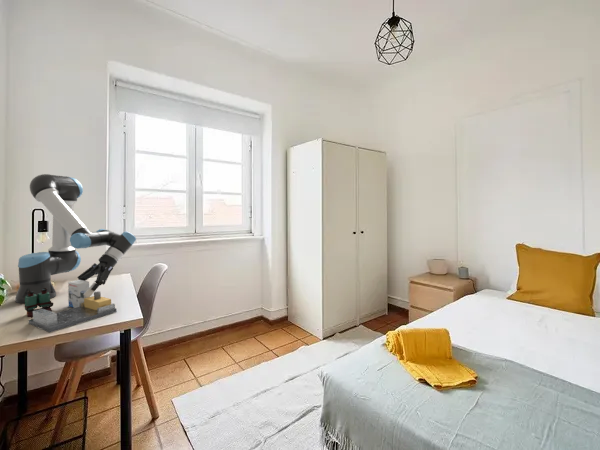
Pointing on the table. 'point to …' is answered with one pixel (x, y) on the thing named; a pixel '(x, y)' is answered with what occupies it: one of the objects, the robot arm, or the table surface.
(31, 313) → the binoculars
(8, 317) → the table surface
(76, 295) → the ink box
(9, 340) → the table surface
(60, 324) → the press bed
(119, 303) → the table surface
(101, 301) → the press jaw
